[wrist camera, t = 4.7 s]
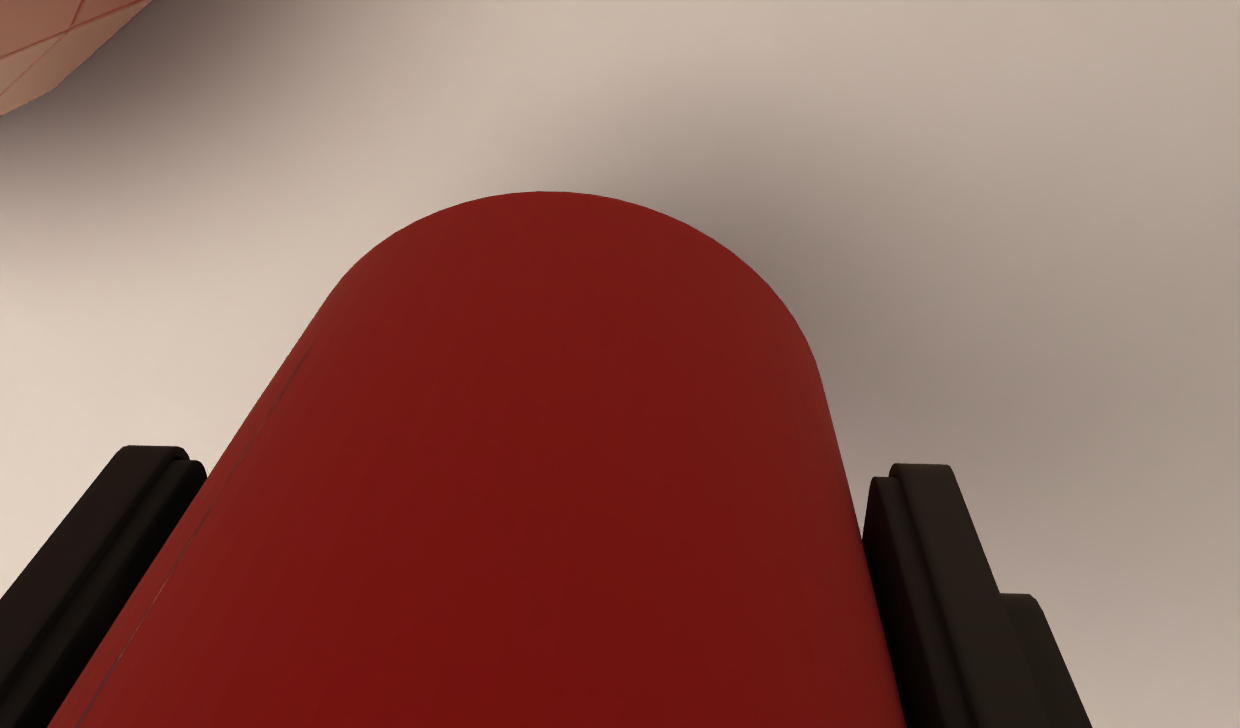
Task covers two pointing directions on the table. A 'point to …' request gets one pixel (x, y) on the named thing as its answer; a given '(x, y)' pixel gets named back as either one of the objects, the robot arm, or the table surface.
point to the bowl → (52, 42)
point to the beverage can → (518, 504)
